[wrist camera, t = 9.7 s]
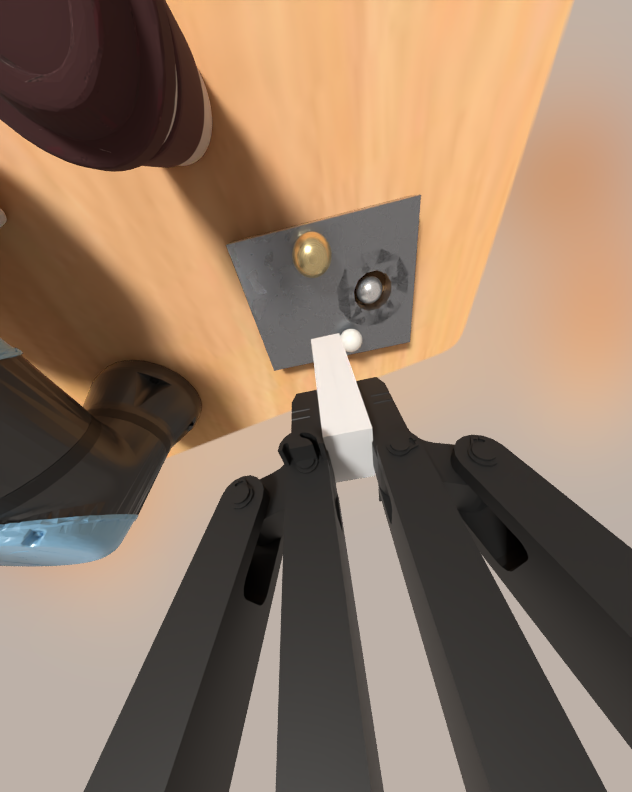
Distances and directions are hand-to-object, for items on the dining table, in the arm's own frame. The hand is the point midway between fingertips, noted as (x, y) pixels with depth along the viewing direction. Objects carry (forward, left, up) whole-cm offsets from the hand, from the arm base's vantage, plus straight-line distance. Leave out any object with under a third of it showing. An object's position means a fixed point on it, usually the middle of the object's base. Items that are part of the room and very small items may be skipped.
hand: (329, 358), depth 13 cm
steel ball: (+7, -3, -19) cm, 20 cm away
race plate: (+2, -3, -20) cm, 21 cm away
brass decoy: (0, +2, -16) cm, 16 cm away
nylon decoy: (+3, -8, -16) cm, 19 cm away
